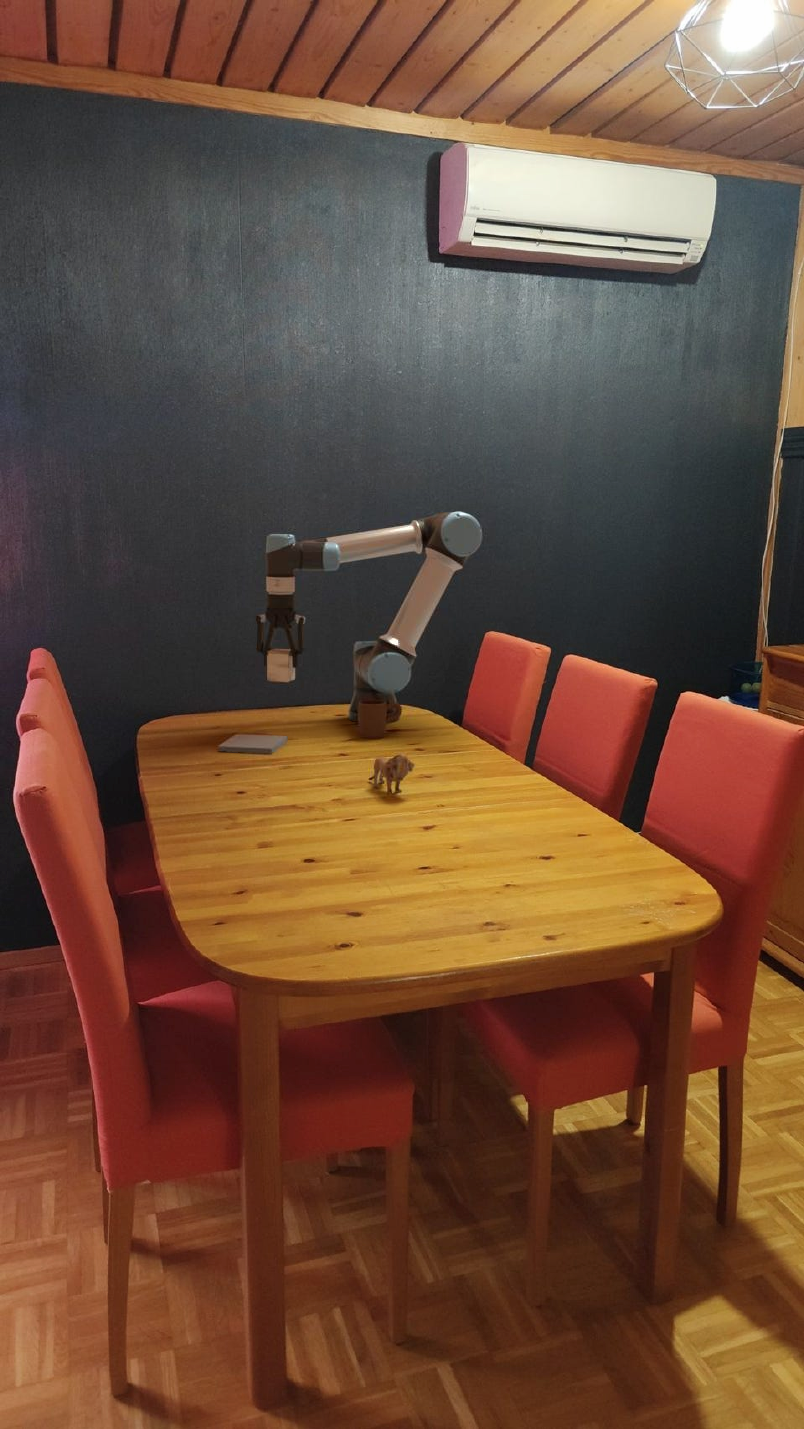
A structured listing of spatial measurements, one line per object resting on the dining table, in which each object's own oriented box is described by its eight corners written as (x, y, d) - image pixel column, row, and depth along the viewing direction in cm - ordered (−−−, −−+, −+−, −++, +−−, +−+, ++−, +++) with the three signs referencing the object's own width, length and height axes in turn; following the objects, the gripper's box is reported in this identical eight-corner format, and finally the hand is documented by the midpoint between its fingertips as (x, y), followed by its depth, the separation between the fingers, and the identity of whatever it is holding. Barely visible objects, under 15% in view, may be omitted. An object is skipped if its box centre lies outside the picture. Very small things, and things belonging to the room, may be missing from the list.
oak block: (274, 677, 264) (274, 648, 262) (294, 678, 263) (294, 649, 261) (268, 681, 259) (267, 651, 257) (288, 682, 258) (288, 652, 256)
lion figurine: (417, 795, 206) (418, 754, 205) (397, 799, 203) (398, 758, 201) (377, 780, 218) (377, 741, 216) (358, 784, 215) (358, 744, 213)
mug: (399, 731, 266) (399, 698, 265) (404, 737, 259) (405, 703, 257) (356, 733, 264) (356, 700, 262) (360, 739, 257) (360, 705, 255)
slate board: (236, 739, 257) (236, 734, 256) (287, 741, 255) (287, 736, 254) (218, 751, 243) (218, 746, 243) (271, 754, 241) (271, 748, 241)
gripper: (242, 592, 254) (243, 679, 259) (310, 595, 251) (310, 682, 255) (252, 590, 261) (253, 675, 266) (318, 593, 258) (317, 678, 263)
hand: (281, 678), depth 261 cm, fingers closed on oak block, 5 cm apart
